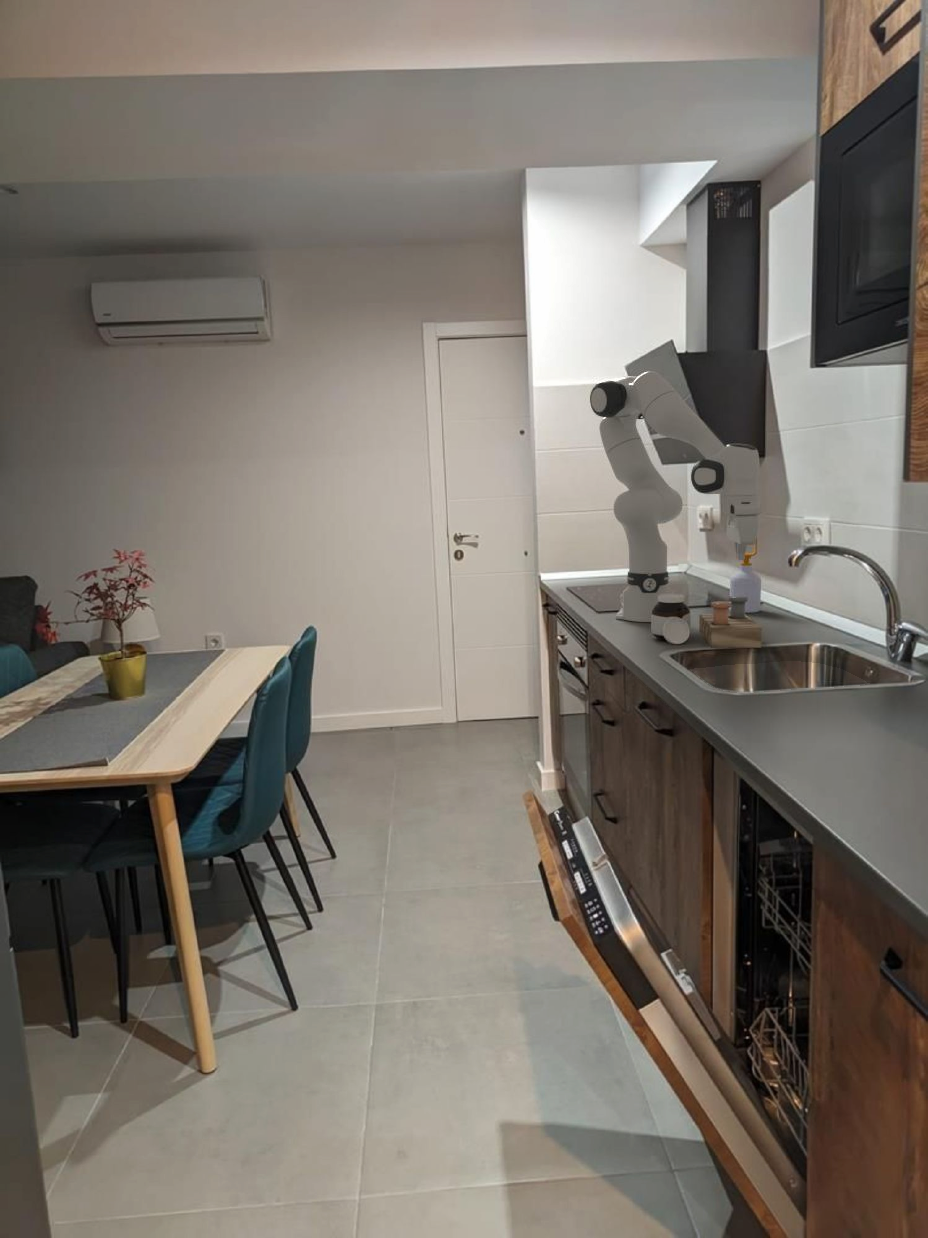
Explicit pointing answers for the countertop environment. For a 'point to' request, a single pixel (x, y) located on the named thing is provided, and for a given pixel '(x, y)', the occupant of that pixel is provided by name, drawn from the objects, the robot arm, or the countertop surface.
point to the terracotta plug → (720, 613)
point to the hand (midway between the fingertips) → (740, 559)
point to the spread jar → (671, 619)
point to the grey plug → (738, 606)
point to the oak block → (730, 632)
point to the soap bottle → (747, 584)
